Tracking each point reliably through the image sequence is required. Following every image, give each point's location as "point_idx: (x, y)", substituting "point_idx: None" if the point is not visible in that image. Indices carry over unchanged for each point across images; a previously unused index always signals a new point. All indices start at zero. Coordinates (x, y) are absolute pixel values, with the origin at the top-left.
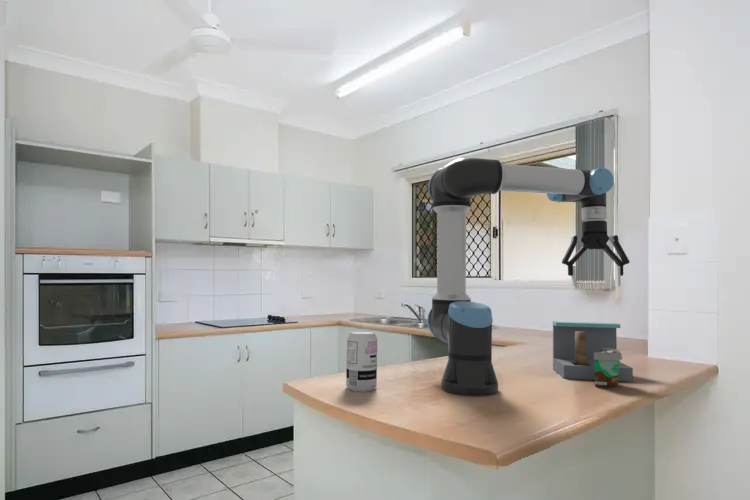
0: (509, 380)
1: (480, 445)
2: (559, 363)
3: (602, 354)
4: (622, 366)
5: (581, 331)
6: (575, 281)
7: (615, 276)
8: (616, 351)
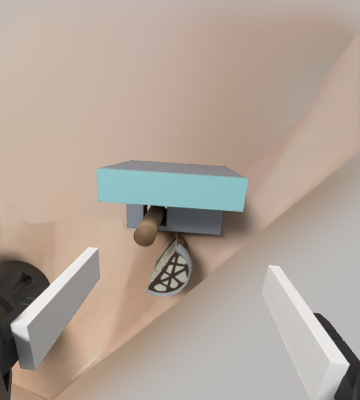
0: (63, 240)
1: (41, 394)
2: (127, 203)
3: (156, 293)
4: (210, 225)
5: (148, 228)
6: (88, 291)
7: (287, 305)
8: (188, 268)
